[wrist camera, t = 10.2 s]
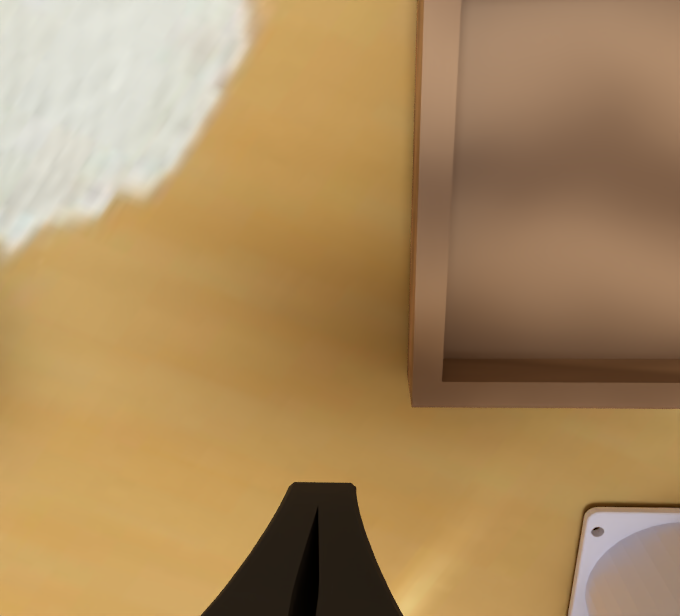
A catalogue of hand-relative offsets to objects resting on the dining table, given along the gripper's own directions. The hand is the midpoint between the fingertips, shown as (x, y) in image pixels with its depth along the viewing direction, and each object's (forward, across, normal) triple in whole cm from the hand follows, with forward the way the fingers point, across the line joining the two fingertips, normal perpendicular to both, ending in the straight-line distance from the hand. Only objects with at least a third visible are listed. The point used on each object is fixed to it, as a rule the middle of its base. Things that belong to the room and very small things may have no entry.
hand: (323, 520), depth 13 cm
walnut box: (+10, -10, -5) cm, 15 cm away
